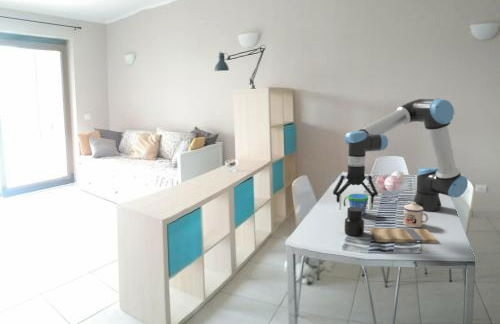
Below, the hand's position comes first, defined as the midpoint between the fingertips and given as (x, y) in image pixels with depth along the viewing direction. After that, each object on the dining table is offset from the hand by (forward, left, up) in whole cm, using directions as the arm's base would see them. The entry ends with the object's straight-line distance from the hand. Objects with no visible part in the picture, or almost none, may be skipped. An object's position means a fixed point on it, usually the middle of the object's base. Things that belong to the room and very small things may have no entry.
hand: (354, 209), depth 174 cm
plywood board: (-21, +3, -12) cm, 25 cm away
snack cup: (-7, -29, -12) cm, 32 cm away
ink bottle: (0, 0, -12) cm, 12 cm away
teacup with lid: (-32, -12, -12) cm, 37 cm away
